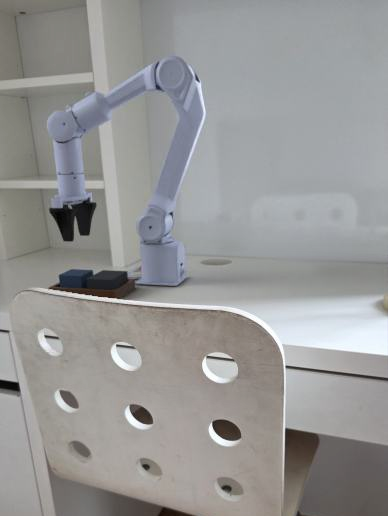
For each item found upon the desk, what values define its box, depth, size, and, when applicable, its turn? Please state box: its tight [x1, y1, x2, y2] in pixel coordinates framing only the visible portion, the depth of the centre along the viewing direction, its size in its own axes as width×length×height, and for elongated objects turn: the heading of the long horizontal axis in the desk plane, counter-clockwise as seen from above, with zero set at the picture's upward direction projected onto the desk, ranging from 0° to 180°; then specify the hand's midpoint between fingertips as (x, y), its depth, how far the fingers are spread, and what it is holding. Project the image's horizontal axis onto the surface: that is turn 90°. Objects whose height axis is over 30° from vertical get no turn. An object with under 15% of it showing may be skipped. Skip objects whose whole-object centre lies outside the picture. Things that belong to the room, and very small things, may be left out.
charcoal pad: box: [86, 269, 128, 290], centre depth 107 cm, size 6×8×3 cm
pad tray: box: [48, 279, 136, 300], centre depth 108 cm, size 15×10×2 cm
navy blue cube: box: [58, 268, 94, 289], centre depth 108 cm, size 5×5×4 cm
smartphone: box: [127, 265, 142, 280], centre depth 125 cm, size 7×1×15 cm
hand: (76, 238), depth 116 cm, fingers open, 7 cm apart
